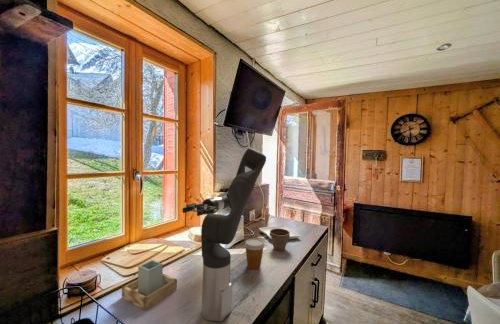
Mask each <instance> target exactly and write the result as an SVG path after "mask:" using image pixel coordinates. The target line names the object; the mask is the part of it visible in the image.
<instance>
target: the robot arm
mask: <svg viewBox="0 0 500 324" xmlns="http://www.w3.org/2000/svg"><path fill="white" fill-rule="evenodd" d="M266 161H267V156H266V155H265V154H264V153H262V152H260V151H258V150H256V149H254V148H252V147H248V148H247V149H246V150H245V151H244V154H243V155H242V157H241V159H240V163H239V165H238V168H237V172H236V173H235V174H236V175H235V177H234V178H233V179H232V181H231V182H230V185H229V187H228V189H227V191H226V192H224V193H223V194H222V195H221V196H213V197H210V198H206V199H203V201H202V202H201V203H197V202H194V203H190V204H186V205H185V207H183V208H182V213H183V214H185V213H188V212H189V213H190V212H193V213H196V216H197V217H200V216H202V215H203V216H204V215H205V216H204V218H203V220H202V223H201V232H200V233H201V234H200V237H201V239H200V240H201V242H200V243H201V257H202V281H201V282H202V284H201V288H202V289H201V291H202V293H201V295H202V296H201V315H202V318H204V319H205V320H207V321H212V322H220V323H221V322H222V321H224V319H226V317H227V316H228V315H229V314H230V313H231V312H232V305H233V304H232V303H233V283H231V259H232V257H231V252H230V251H229V250H227V249H226V248H225V247H224V246H223V245H230V244H231V243H232V242H233V240H234V239H235V237H236V235H237V231H238V228H239V225H240V222H241V218H242V217H243V213H244V211H245V209H246V207H247V204H248V202H249V199H250V197H251V195H252V193H253V190H254V187H255V185H256V183H257V179H258V177H259V176H260V174H261V172H262V170H263V168H264V167H265V164H266ZM246 168H248V169H250V170H249V171H246ZM227 208H230V212H229V213H228V214H227V215H226V214H217V213H218V212H220V211H223V210H225V209H227Z"/></svg>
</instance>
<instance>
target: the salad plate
mask: <svg viewBox="0 0 500 324" xmlns="http://www.w3.org/2000/svg"><path fill="white" fill-rule="evenodd" d="M258 229H259V231H260V232H261V233H262V234H264V235H265V236H267V237H268V238H269V239H270V240H271V241H272V238H271V236H270V230H272V229H285V230H287V231H289V232H290V237H289V238H288V240H293V239H294V240H295V239H298V238H300V237H301V234H299V233H297V232H296V231H295V230H293V229H291V228H290V227H288V226H286V225H279V226H278V225H277V226H276V225H275V226H265V227H259V228H258Z"/></svg>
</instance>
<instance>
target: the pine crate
mask: <svg viewBox="0 0 500 324" xmlns="http://www.w3.org/2000/svg"><path fill="white" fill-rule="evenodd" d="M121 287H122V288H121V298H122V299H123V300H125V301H126V302H128V303H129V304H132V305H134V306H135V307H138V308H140V309H141V310H143V311H147V310H149V308H151V307H153V306H155V305H156V304H157V303H159V302H160V301H162V300H164V298H166V297H167V296H169V295H171V294H172V293H173V292H175V291H176V290H177V289H178V279H177V278H175V277H173V276H170V275H167V274H165V273H162V287H161V288H159V289H157V290H156V291H154V292H153V293H151V294H149V295H148V296H144V295H142V294H140V293H138V278H137V279H135V280H133V281H131V282H128V283H127V284H125V285H123V286H121Z"/></svg>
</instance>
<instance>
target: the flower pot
mask: <svg viewBox="0 0 500 324" xmlns="http://www.w3.org/2000/svg"><path fill="white" fill-rule="evenodd" d="M270 236H271V238H272V240H271V242H272V246H273V249H274V250H275V251H278V252H279V251H280V252H283V251H284V250H286V247H287V244H288V241H289V239H288V238H289V237H290V232H289V231H287V230H285V229H272V230H270Z"/></svg>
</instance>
